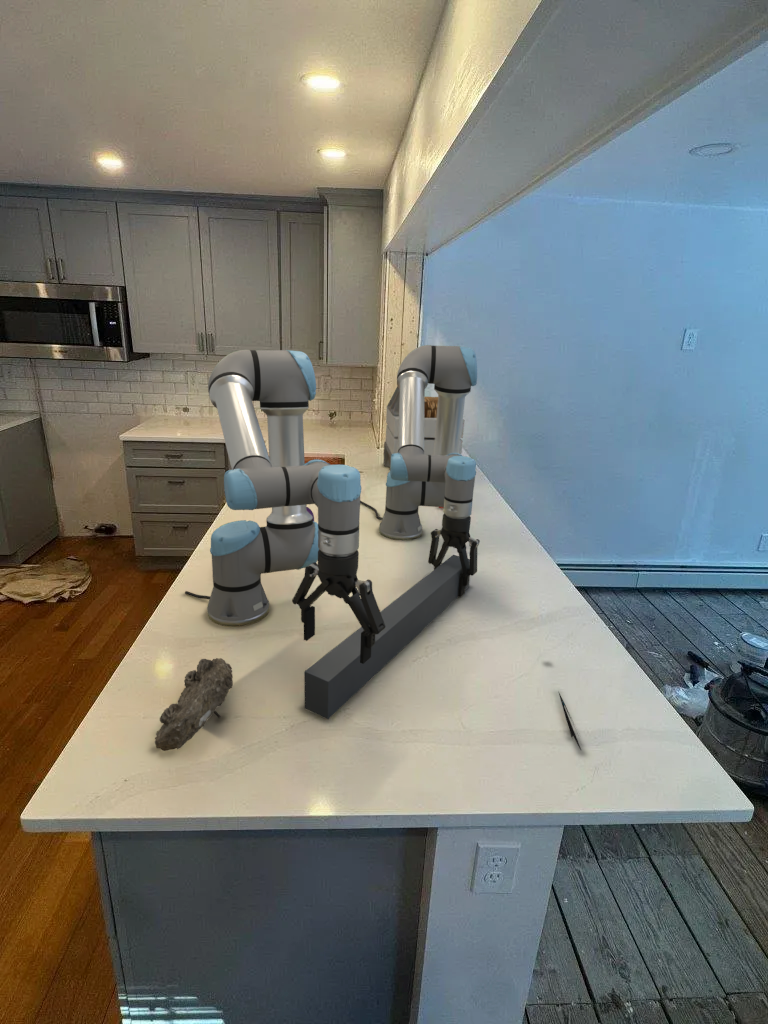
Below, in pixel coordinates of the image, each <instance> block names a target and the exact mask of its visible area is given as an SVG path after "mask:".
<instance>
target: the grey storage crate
mask: <svg viewBox="0 0 768 1024" xmlns="http://www.w3.org/2000/svg"><path fill="white" fill-rule="evenodd" d="M399 399H400V389H399V388H398V386H397V385H396V388H395V390H394V392H393V394H392V395H391V398H390V400H389V402H388V404H387V405H386V413H385V414H386V415H385V423H386V428H385V438H384V442H383V466H384V467H388V468H389V470H390V469H391V455H392V454H393V453H398V430H399ZM437 406H438V396H425V407H424V455H433V454H434V442H435V430H436V418H437ZM464 429H465V419H464V418H463V422H462V431H461V441H460V450H459V454H461V455H462V453H463V442H464V441H463V440H462V439H463V438H464V431H465V430H464Z"/></svg>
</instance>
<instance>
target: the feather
mask: <svg viewBox="0 0 768 1024" xmlns="http://www.w3.org/2000/svg"><path fill="white" fill-rule="evenodd" d="M546 664H549V662H547V663H546ZM558 695H559V699H560V703H561V706H562V710H563V713H564V717H565V721H566V723H567V727H568V730H569V735H570V737H571V738H573V739H574V740H575V742H576V744H577V746H578V748H579V749H580V751H582V748H581V745H580V743H579V740H578V738H577V736H576V733H575V731H577V729H576V725H573V724H572V722H574V721H573V718H572V716H571V714H570V712H569V710H568V707H567V705H566V704H565V701H564V699H563V698H562V695H561V693H560V691H559V690H558ZM573 727H574V728H573ZM578 733H579V731H577V735H578V737H580V733H579V734H578Z"/></svg>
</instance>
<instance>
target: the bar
mask: <svg viewBox="0 0 768 1024" xmlns="http://www.w3.org/2000/svg"><path fill="white" fill-rule="evenodd" d="M468 561H469V565H470V558H468ZM462 573H463V571H462V566H461V562H460V557H459V555H456V554H452V555H451V556H449V557H448V558H447V559H446V560H445V561H442V564H440V565H439V566H438V567H437V568H436V569H434V568H433V570H432V571H430V572H429V573H428V574H426V575H425V576H424V577H423V578H422V579H420V580H419V581H417V582H416V583H415V584H414V585H413V586H411V587H410V588H409V589H408V590H406V591H405V592H404V593H402V594H400V596H398V597H397V598H396V599H395V600H393V601H392V602H391V603H390V604H388V605H387V606H386V607H385V608H383V609H382V610H380V613H381V615H382V618H383V621H384V623H385V629H383V630H382V631H381V632H380V633H379V634H375V644H374V646H373V647H371V658H369V659H368V660H367V661H366V662H365V663H364V664H362V663H360V648H361V632H363V631H364V630H363V628H362V626H360V627H359V628H357V630H355V631H354V632H352V633H351V634H350V635H348V636H347V637H346V638H345V639H344V640H342V641H341V642H340V643H338V644H337V645H336V646H335V647H333V648H332V649H331V650H329V651H328V652H327V653H325V655H323V656H322V657H320V658H319V659H318V660H317V661H315V662H314V663H313V664H312V665H311V666H309V667H308V668H307V669H305V670H304V671H303V672H304V673H303V675H304V677H303V678H304V683H303V684H304V685H303V686H304V693H303V694H304V709H305V710H307V711H309V712H311V713H313V714H315V715H317V716H320V717H321V718H323V719H325V720H329V719H330V718H332V717H333V716H334V715H335V714H336V713H337V712H338V711H339V710H341V708H342V707H343V706H344V705H345V704H346V703H347V702H349V700H351V698H353V697H354V696H355V695H356V694H357V693H358V692H359V691H360V690H361V689H362V688H363V687H365V685H366V684H368V683H369V682H370V681H371V680H372V679H373V678H374V677H375V676H376V675H377V674H378V673H379V672H381V671H382V670H383V668H384V667H386V666H387V665H388V664H389V663H390V662H391V661H392V660H393V659H394V658H395V657H396V656H397V655H399V653H400V652H401V651H403V649H405V648H406V647H407V646H408V645H409V644H410V643H411V642H412V641H413V640H414V639H415V638H417V637H418V636H419V635H420V634H421V633H422V632H423V631H424V630H425V629H426V628H427V627H428V626H429V625H430V624H431V623H432V622H433V621H434V620H436V619H437V617H439V615H441V614H442V613H444V611H445V610H446V609H447V608H448V607H450V606H451V604H452V603H453V602H454V601H456V600H457V599H458V598H460V597H459V596H458V595H459V584H460V575H461V574H462ZM470 579H471V577H470V578H469V581H470ZM469 587H470V583H469V584H468V585H467V586H465V591H466V590H467V589H468V588H469Z"/></svg>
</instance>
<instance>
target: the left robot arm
mask: <svg viewBox="0 0 768 1024" xmlns="http://www.w3.org/2000/svg"><path fill="white" fill-rule="evenodd" d="M316 381H317V379H316V373H315V370H314V366H313V363H312V361H311V359H310V357H309V356H308V354H307V353H305V352H303V351H299V350H292V349H291V350H289V349H257V350H256V349H239V350H236V351H233V352H231V353H228V354H227V355H225V356H224V357H223V358H222V359H220V360H219V361H218V363H216V365H215V366H214V367H213V368H212V371H211V373H210V376H209V378H208V383H207V391H208V397H209V400H210V402H211V404H212V406H213V407H214V408H215V409H216V410H217V414H218V418H219V423H220V426H221V431H222V435H223V439H224V440H223V441H224V444H225V448H226V451H227V456H228V461H229V465H230V469H229V470H226V471H225V473H224V475H223V488H224V489H223V490H224V496H225V502H226V505H227V508H229V509H230V510H233V511H255V510H260V509H261V510H263V509H271V513H270V514H269V515H268V516H267V517H266V519H265V522H266V525H265V526H260V525H259V524H258V523H257V522H256V521H254V520H246V519H242V520H234V521H230V522H227V523H225V524H222V525H220V526H219V527H217V528H215V530H213V532H212V534H211V535H210V549H209V551H210V554H211V569H212V570H211V571H212V584H213V586H212V590H211V593H210V595H202V594H197V593H193V592H191V591H187V590H185V591H184V594H185V595H187V596H189V597H193V598H197V599H203V600H208V603H207V608H206V609H207V612H206V613H207V617H208V619H209V620H210V621H211V622H212V623H214V624H216V625H219V626H222V627H230V628H237V627H239V628H240V627H246V626H251V625H253V624H256V623H258V622H260V621H262V620H263V619H265V618H266V617H267V615H268V614H269V613H270V612H269V611H270V602H269V599H268V596H267V594H266V591H265V589H264V587H263V584H262V574H269V573H279V572H285V571H286V572H287V571H293V570H296V571H300V570H301V569H304V576H303V578H302V579H301V582H300V584H299V586H298V588H297V590H296V592H295V594H294V596H293V598H292V604H294V605H297V606H298V607H299V609H300V620H301V623H302V624H303V641H306V642H307V641H308V640H310V639H312V638H313V637H314V636H316V606H314V605H313V604H314V603H315V602H316V601H317V600H318V599H319V598H320V597H321V596H322V595H323V594H325V592H327V595H330V596H335V597H336V598H338V599H342V600H343V601H344V603H345V604H346V605H348V606H349V608H350V610H351V611H352V613H353V615H354V616H355V619H357V621H358V624H360V627H362V628H363V630H364V631H363V632H361V648H360V663H362V664H364V663H365V662H366V661H367V660H368V659H369V658H371V647H373V646H374V644H375V634H379V633H380V632H381V631H382V630H383V629H385V623H384V621H383V618H382V615H381V613H380V612H381V610H380V607H379V604H378V602H377V599H376V597H375V594H374V592H373V591H374V590H373V582H372V580H371V579H370V578H369V579H367V580H365V581H364V580H360V579H359V578H358V575H357V573H358V569H359V548H360V516H361V515H360V513H361V503H360V501H361V494H362V485H361V483H362V482H361V473H360V471H359V469H358V468H356V467H354V466H350V465H347V464H339V463H337V464H331V463H329V462H327V461H325V460H323V459H318V458H317V459H311V460H309V461H307V462H306V461H305V459H306V458H305V438H304V437H305V436H304V434H305V433H304V414H305V413H306V412H307V411H308V409H309V408H310V405H309V402H311V401H313V400H314V399H315V398H316V394H317V391H316V390H317V382H316ZM253 402H259V409H260V410H261V412H263V413H264V414H265V415H266V420H267V423H266V424H267V439H268V448H267V445H266V441H265V439H264V436H263V432H262V428H261V426H260V423H259V419H258V416H257V413H256V409H255V405H254V404H253ZM305 462H306V463H305ZM306 505H315V506H316V507H317V522H316V521H315V520H314V521H313V516H312V515H311V514H310V513H309V512H307V510H306V507H307V506H306ZM317 577H318V579H319V581H320V582H321V583H319V585H318V586H317V587H316V588H315V589H314V591H312V592H311V593H310V594H309V595H308V593H309V591H310V589H311V587H312V585H313V583H314V581H315V579H316V578H317ZM350 594H351V596H350ZM307 595H308V596H307Z"/></svg>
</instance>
